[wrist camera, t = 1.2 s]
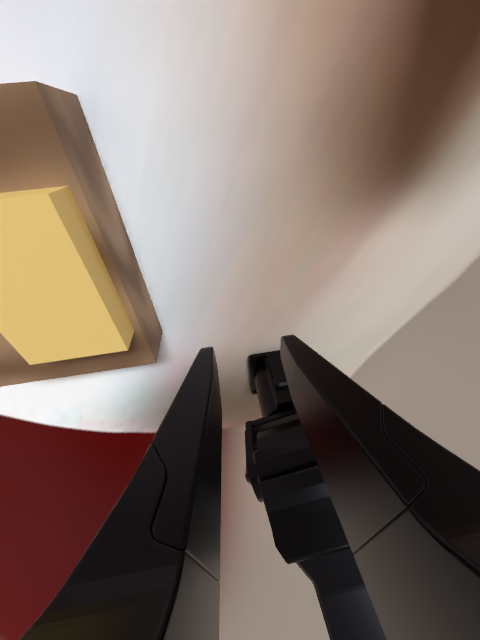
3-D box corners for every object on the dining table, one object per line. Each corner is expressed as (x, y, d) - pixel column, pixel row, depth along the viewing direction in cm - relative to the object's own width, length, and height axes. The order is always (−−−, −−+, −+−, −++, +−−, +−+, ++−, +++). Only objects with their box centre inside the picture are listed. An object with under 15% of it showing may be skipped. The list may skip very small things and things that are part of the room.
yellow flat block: (134, 330, 17) (128, 350, 15) (45, 343, 17) (29, 365, 15) (68, 185, 11) (47, 193, 10) (-68, 199, 11) (-112, 210, 9)
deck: (162, 330, 22) (156, 362, 19) (26, 350, 21) (-3, 387, 18) (76, 94, 12) (35, 81, 9) (-180, 115, 12) (-320, 109, 8)
